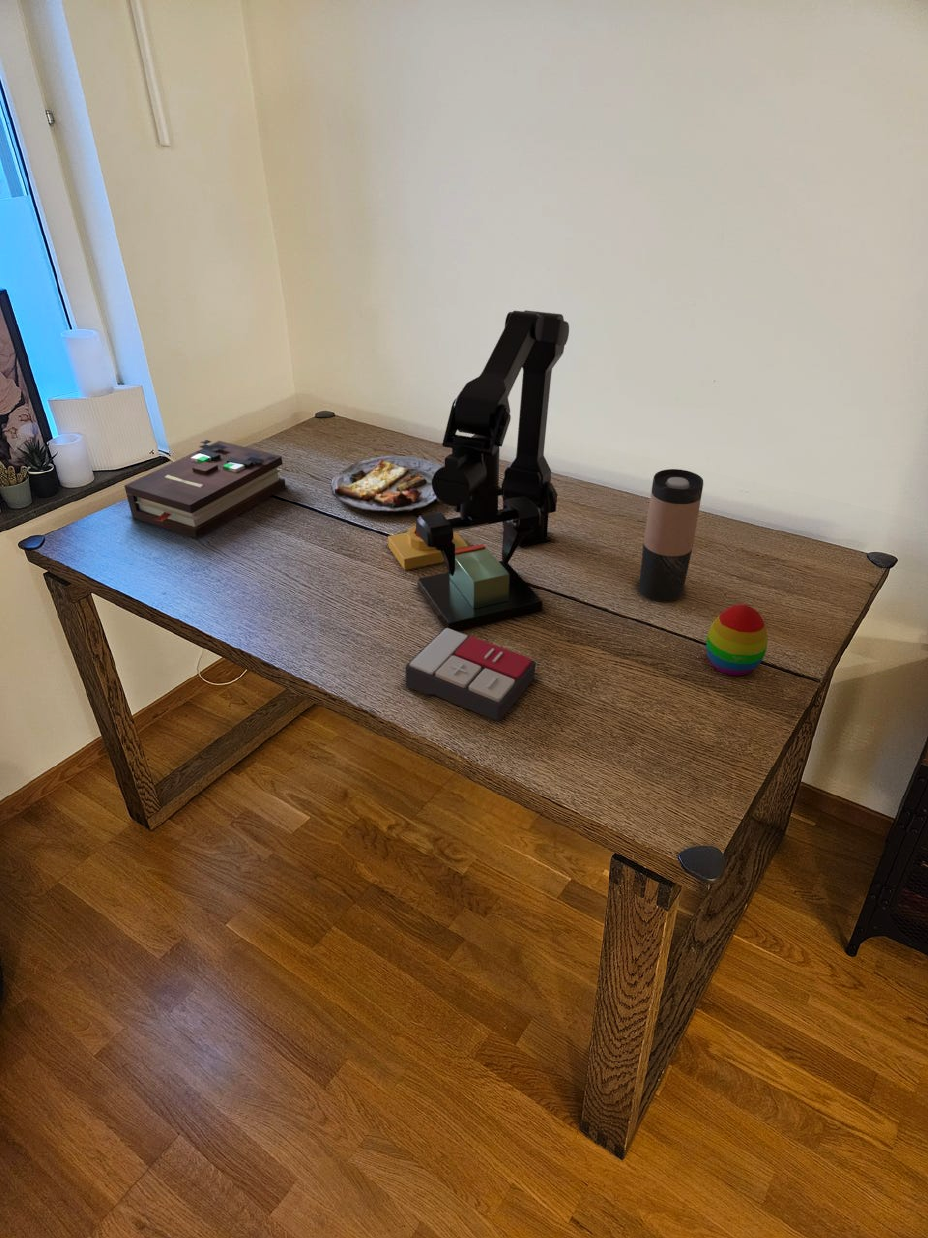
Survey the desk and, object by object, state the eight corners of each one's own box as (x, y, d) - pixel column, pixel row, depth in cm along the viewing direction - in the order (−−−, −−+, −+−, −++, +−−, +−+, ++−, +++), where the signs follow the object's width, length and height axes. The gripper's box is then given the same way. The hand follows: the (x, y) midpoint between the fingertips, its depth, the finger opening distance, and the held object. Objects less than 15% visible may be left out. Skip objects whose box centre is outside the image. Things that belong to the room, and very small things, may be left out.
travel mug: (686, 582, 136) (706, 472, 125) (681, 606, 130) (701, 492, 119) (640, 575, 138) (656, 465, 127) (633, 597, 132) (649, 485, 121)
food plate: (403, 530, 151) (402, 513, 149) (308, 501, 161) (306, 485, 159) (473, 482, 169) (473, 466, 167) (383, 458, 179) (382, 443, 177)
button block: (449, 534, 150) (449, 515, 148) (468, 556, 143) (468, 536, 141) (388, 546, 146) (387, 527, 144) (404, 570, 139) (403, 550, 137)
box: (508, 600, 128) (509, 572, 125) (473, 609, 126) (474, 580, 123) (483, 570, 135) (483, 543, 132) (449, 578, 133) (449, 550, 130)
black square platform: (504, 569, 139) (505, 559, 138) (542, 611, 129) (542, 600, 128) (417, 588, 134) (417, 578, 133) (448, 633, 124) (448, 623, 123)
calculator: (501, 701, 105) (404, 662, 110) (498, 726, 107) (404, 685, 113) (537, 657, 113) (445, 622, 118) (534, 680, 115) (444, 645, 121)
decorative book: (108, 484, 150) (222, 432, 172) (118, 520, 154) (228, 465, 176) (184, 507, 142) (293, 449, 164) (192, 545, 147) (297, 483, 168)
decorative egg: (745, 689, 113) (760, 631, 107) (692, 666, 117) (704, 608, 111) (770, 662, 118) (785, 605, 112) (718, 641, 122) (730, 585, 116)
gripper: (512, 448, 128) (509, 535, 137) (401, 467, 122) (405, 556, 131) (545, 475, 120) (539, 566, 129) (427, 496, 114) (430, 590, 123)
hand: (478, 568), depth 128 cm, fingers open, 9 cm apart
